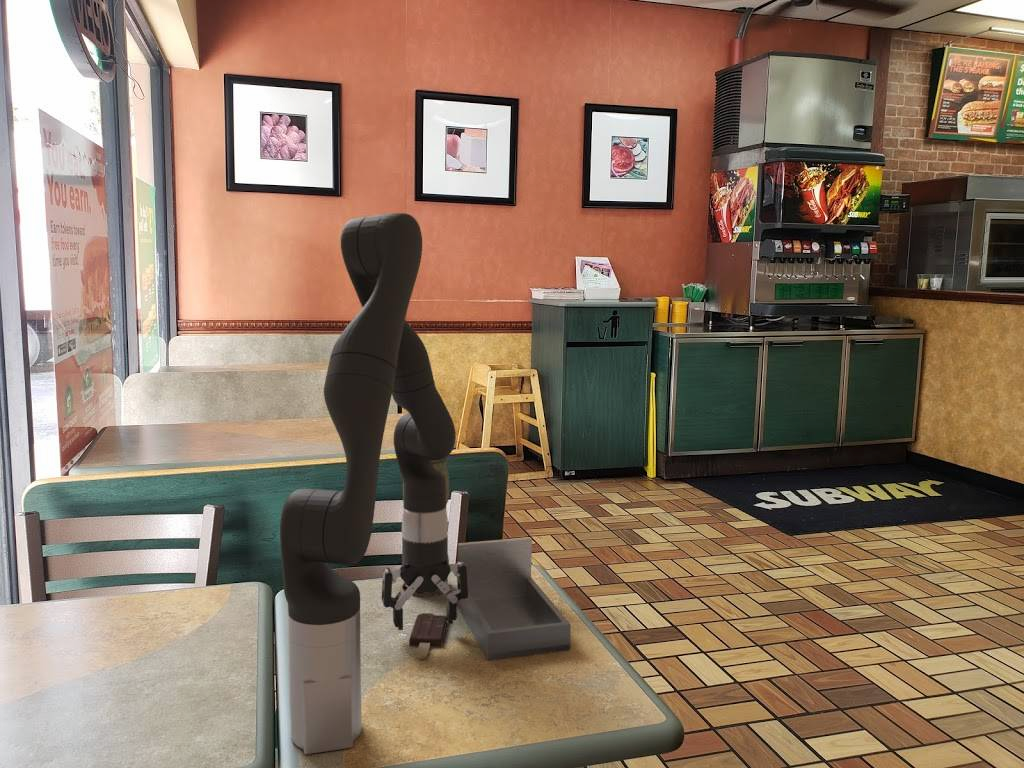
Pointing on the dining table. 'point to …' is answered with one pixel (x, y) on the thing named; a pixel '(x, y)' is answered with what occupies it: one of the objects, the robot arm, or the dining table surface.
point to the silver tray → (509, 601)
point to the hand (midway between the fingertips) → (425, 625)
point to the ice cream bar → (427, 633)
